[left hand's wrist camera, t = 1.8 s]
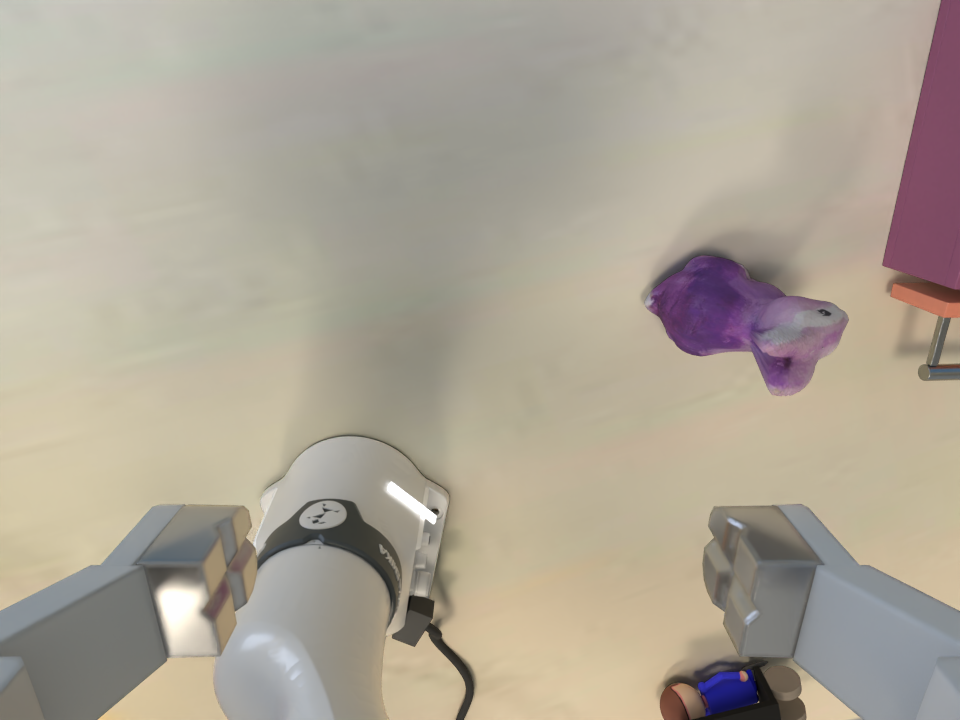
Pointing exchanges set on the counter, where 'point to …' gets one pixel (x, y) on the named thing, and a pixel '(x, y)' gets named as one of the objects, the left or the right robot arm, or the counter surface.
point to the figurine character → (738, 696)
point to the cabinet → (932, 168)
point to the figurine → (747, 320)
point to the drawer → (946, 307)
